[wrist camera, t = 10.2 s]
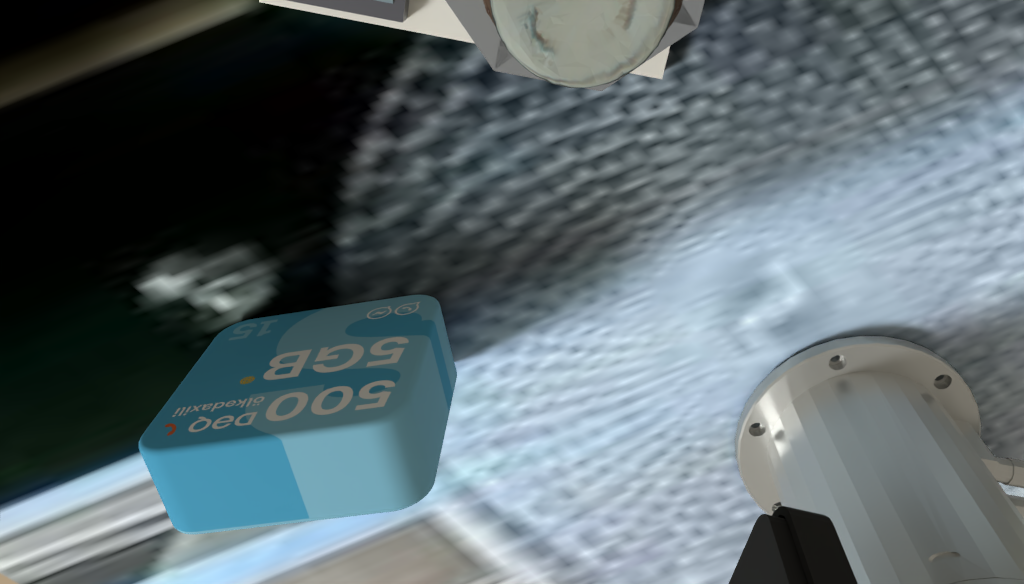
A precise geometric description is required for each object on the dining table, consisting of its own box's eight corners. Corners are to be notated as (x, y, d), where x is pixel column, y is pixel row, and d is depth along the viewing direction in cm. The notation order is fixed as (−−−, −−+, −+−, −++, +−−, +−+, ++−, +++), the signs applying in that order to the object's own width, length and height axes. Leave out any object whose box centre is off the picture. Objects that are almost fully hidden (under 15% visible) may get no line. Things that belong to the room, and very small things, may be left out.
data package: (442, 288, 45) (405, 419, 34) (461, 363, 47) (430, 509, 36) (224, 321, 47) (122, 456, 36) (250, 392, 48) (161, 541, 38)
